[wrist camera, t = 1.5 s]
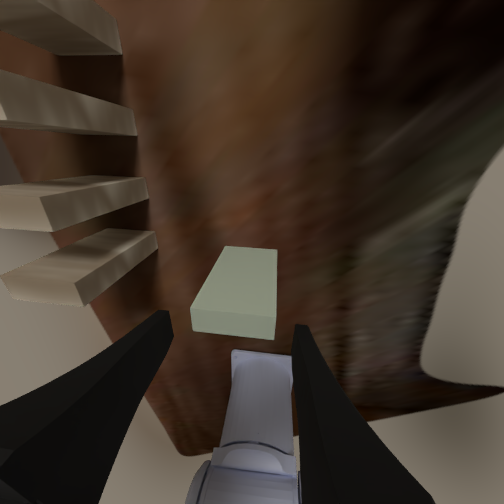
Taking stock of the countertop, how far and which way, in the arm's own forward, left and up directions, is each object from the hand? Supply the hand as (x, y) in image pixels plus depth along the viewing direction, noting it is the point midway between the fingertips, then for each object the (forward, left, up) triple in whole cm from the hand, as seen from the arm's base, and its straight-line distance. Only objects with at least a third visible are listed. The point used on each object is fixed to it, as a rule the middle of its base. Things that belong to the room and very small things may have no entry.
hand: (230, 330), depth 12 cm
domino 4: (+11, +12, -10) cm, 19 cm away
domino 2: (+1, +12, -10) cm, 15 cm away
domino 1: (0, 0, -10) cm, 10 cm away
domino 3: (+6, +12, -10) cm, 16 cm away
